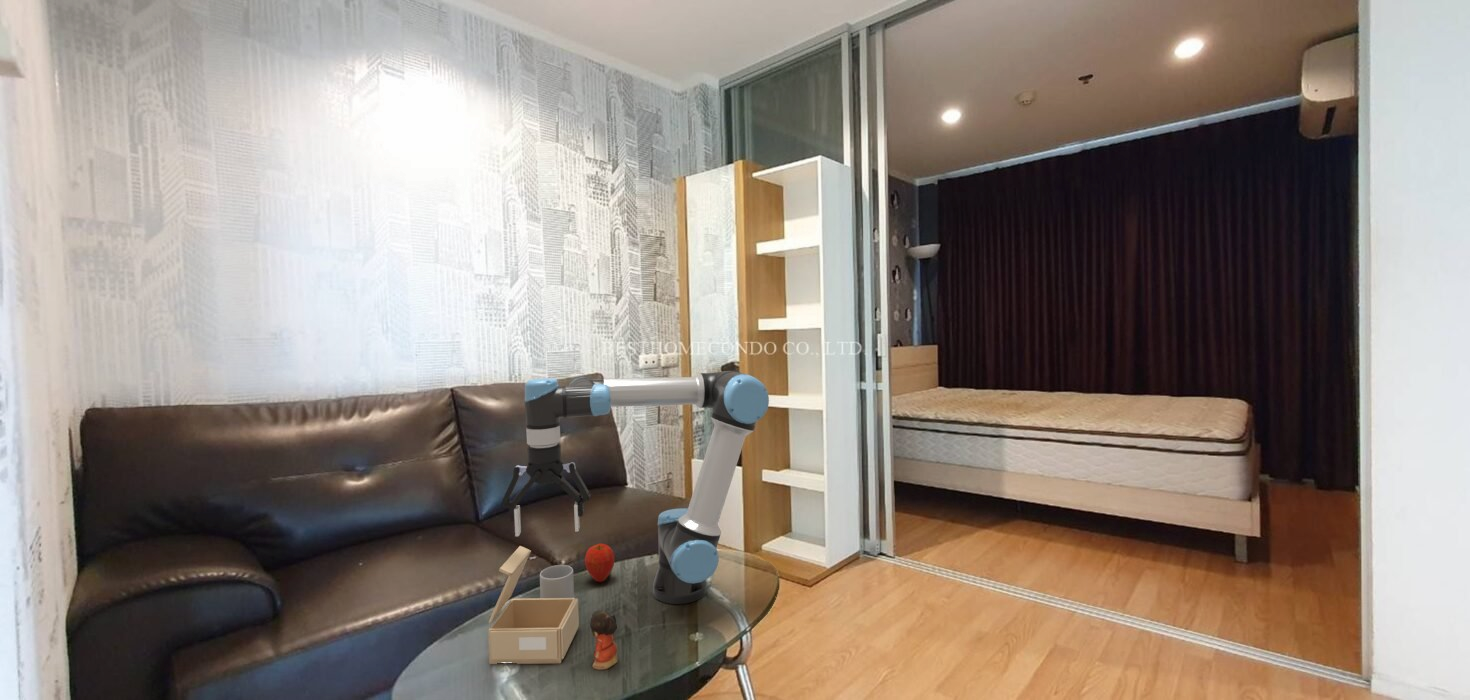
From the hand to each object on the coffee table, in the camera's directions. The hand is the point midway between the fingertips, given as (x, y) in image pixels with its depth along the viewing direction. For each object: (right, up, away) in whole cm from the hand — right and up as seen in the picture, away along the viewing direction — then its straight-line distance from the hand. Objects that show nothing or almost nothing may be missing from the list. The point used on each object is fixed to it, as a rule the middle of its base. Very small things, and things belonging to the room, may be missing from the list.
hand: (548, 532), depth 139 cm
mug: (-3, -26, +16) cm, 30 cm away
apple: (+5, -25, +32) cm, 41 cm away
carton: (-3, -27, -1) cm, 27 cm away
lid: (-8, -12, -2) cm, 14 cm away
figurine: (+15, -27, -8) cm, 32 cm away
